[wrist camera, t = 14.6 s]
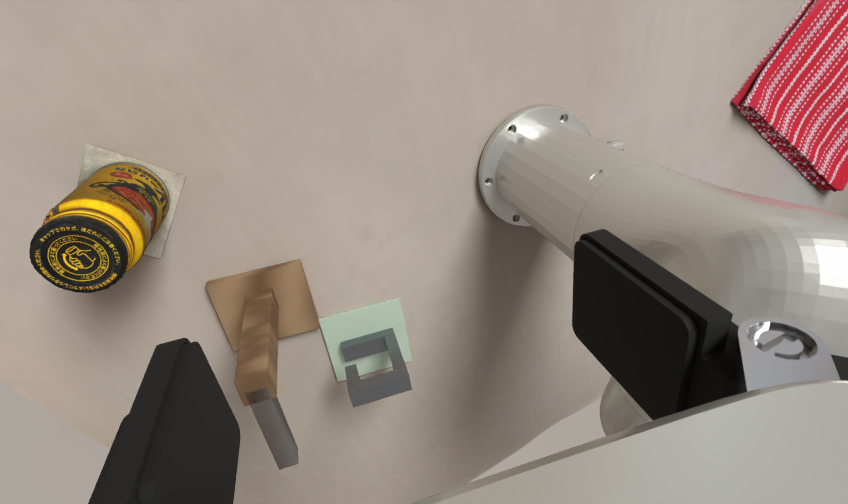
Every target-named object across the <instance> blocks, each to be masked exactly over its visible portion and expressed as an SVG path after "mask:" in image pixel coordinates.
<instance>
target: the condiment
mask: <svg viewBox="0 0 848 504" xmlns="http://www.w3.org/2000/svg"><path fill="white" fill-rule="evenodd" d="M185 177H186V176H183V175H181V174H178V173H175V172H172V171H169V170H166V169H163V168H160V167H157V166H155V165H151V164H149V163H146V162H143V161H140V160H137V159H134V158H131V157H127V156H125V155H121V154H119V153H115V152H112V151H108V150H105V149H102V148H99V147H96V146H93V145H90V144H88V143H87V146H86V150H85V155H84V159H83V164H82V168H81V173H80V177H79V181H78V186H77V188H76V189H75V190H74V191H73V192H72V193H70V194H69V195H68V196H67V197H66V198H65V199H63V200H62V201H61V202H60V203H59V204H58V205H56V206H55V207H54V208H53V209H51V210H50V212H49V213H48V214H47V216H46V218H45V220H44V222H43V225H42V227H41V228H39V230H38V231H37V232H36V233H35V235H34V236H33V239H32V241H31V244H30V259H31V263H32V265H33V266H34V268H35V269H36V270H37V272H38V273H40V274H41V275H42V276H43V277H44V278H45V279H46V280H48V281H49V282H51V283H52V284H54V285H55V286H57V287H59V288H62V289H65V290H70V291H74V292H83V293H84V292H86V293H90V292H96V291H100V290H104V289H107V288H109V287H110V286H111V285H113V284H115V283H116V282H117V281H118V280H119V279H120V278H122V276H123V274H124V273H125V272H126V271H127V270H129V269H130V268H132V267H133V266H134V265H135V264H136V263H137V262H138V261H139V260H140V259H141V257H142V255H143V254H145V255H148V256H151V257H155V258H159V259H161V255H162V252H163V249H164V246H165V242H166V239H167V235H168V232H169V229H170V226H171V223H172V220H173V216H174V213H175V210H176V206H177V203H178V200H179V197H180V193H181V190H182V187H183V184H184V180H185Z"/></svg>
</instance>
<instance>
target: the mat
mask: <svg viewBox="0 0 848 504" xmlns="http://www.w3.org/2000/svg"><path fill="white" fill-rule="evenodd" d="M319 323H320V326H321V329H322V332H323V335H324V339H325V342H326V345H327V348H328V352H329V355H330V358H331V361H332V364H333V368H334V371H335V374H336V377H337V381H338V382H340V381H344V380H347V379H346V373H345V367H346V366H349V365H353V364H356V366H357V369H358V373H359V376H361V375H364V374H368V373H371V372H374V371H378V370H381V369H385V368H388V367H392V364H391V360H390V357H389V354H388V350H387V351H384V352H380V353H377V354H374V355H370V356H367V357H363V358H360V359H356V360H353V361H349V362H345V359H344V355H343V352H342V348H341V342H343V341H346V340H350V339H353V338H357V337H361V336H364V335H368V334H371V333H375V332H378V331H382V330H385V329H389V328H392V327H393V330H394V333H395V336H396V339H397V342H398V345H399V348H400V351H401V354H402V356H403V359H404V362H409V361H412V357H411V352H410V347H409V342H408V337H407V331H406V326H405V321H404V316H403V311H402V306H401V301H400V298H395V299H391V300H387V301H384V302H380V303H376V304H372V305H369V306H365V307H361V308H357V309H354V310H350V311H346V312H342V313H339V314H335V315H331V316H327V317H324V318H320V319H319Z"/></svg>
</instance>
